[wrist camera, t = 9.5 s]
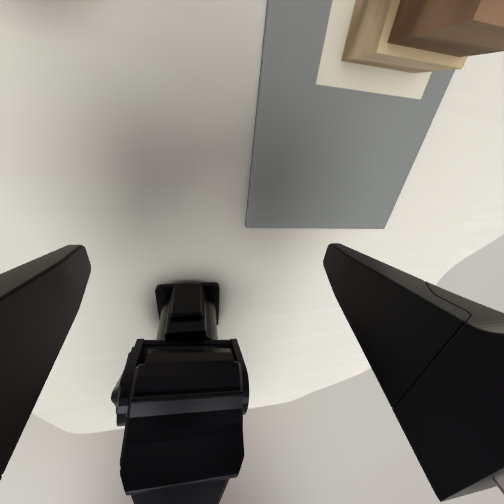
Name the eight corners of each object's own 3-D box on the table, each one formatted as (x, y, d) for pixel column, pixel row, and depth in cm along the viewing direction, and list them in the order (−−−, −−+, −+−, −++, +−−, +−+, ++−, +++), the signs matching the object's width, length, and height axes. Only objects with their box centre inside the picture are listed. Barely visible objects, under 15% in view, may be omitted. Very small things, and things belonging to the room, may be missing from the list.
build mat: (381, 227, 26) (384, 229, 25) (245, 225, 23) (246, 227, 22) (527, -106, 14) (536, -112, 14) (287, -204, 11) (290, -215, 11)
